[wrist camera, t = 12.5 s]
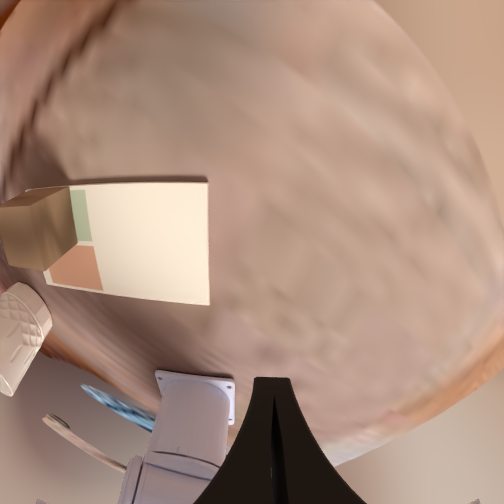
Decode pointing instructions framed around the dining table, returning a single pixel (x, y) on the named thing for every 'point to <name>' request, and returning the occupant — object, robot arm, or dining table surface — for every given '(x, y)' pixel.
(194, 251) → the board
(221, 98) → the dining table surface
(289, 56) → the dining table surface
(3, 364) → the white cup
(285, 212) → the dining table surface
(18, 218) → the block
